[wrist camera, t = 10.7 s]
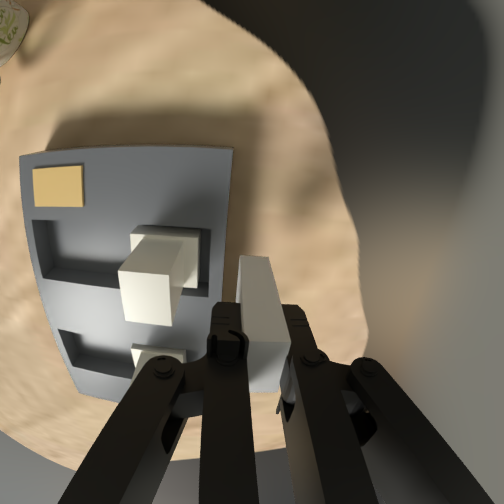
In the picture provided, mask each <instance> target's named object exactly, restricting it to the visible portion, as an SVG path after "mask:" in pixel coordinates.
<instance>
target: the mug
mask: <svg viewBox="0 0 504 504" xmlns="http://www.w3.org/2000/svg"><path fill="white" fill-rule="evenodd" d="M28 22H29V15H28V12H27V11H26V10H25V9H24V8H23V7H21V6H20V5H18V4H17V3H16V2H14V1H13V0H0V67H1V66H2V65H4V64H5V63H6V62H7V61H8V60H9V59H10V58H11V57H12V55H13V54H14V53H15V51H16V50H17V48H18V47H19V45H20V43H21V42H22V40H23V38H24V35H25V33H26V30H27V27H28ZM0 83H1V78H0Z"/></svg>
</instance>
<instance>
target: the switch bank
mask: <svg viewBox="0 0 504 504" xmlns="http://www.w3.org/2000/svg"><path fill="white" fill-rule="evenodd" d="M232 157H233V147H221V146H205V145H179V144H127V145H103V146H87V147H74V148H64V149H55V150H46V151H41V152H36V153H31V154H27V155H22V156H19V166H20V186H21V198H22V208H23V216H24V223H25V230H26V236H27V242H28V247H29V252H30V257H31V262H32V266H33V270H34V274H35V278H36V282H37V286H38V290H39V293H40V297H41V300H42V303H43V307H44V310H45V313H46V316H47V319H48V322H49V325H50V327H51V330H52V333H53V336H54V338H55V341H56V343H57V346H58V348H59V351H60V353H61V356H62V358H63V360H64V363H65V365H66V367H67V369H68V371H69V374H70V376H71V378H72V380H73V382H74V384H75V386H76V388H77V390H78V392H79V393H81V394H85V395H88V396H92V397H96V398H100V399H104V400H108V401H113V402H117V403H120V401H121V399H122V398H123V396H124V395H125V393H126V392H127V390H128V389H129V387H130V383H131V380H132V377H133V374H134V371H135V365H134V360H133V356H132V352H131V346H132V344H133V343H136V344H143V345H150V346H158V347H166V348H175V349H185V350H186V360H187V363H188V362H193V361H196V360H198V359H200V358H202V357H203V356H204V355H205V354H206V353H207V337H208V335H209V333H210V324H211V313H212V308H213V306H214V305H215V304H216V303H217V302H221V301H222V285H223V269H224V254H225V240H226V227H227V214H228V202H229V190H230V179H231V168H232ZM138 225H142V226H159V227H176V228H191V229H201V247H200V277H199V282H198V286H197V288H187V287H183V289H182V293H181V296H180V299H179V303H178V306H177V310H176V313H175V317H174V321H173V324H172V326H163V325H154V324H146V323H138V322H131V321H125V315H124V310H123V304H122V297H121V291H120V284H119V276H118V270H119V268H120V267H121V266H122V264H123V263H124V262H125V260H126V259H127V258H128V256H129V255H130V254H131V241H130V233H131V232H132V231H133V230H134V229H135V228H136V227H137V226H138Z"/></svg>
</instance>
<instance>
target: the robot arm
mask: <svg viewBox="0 0 504 504" xmlns="http://www.w3.org/2000/svg"><path fill="white" fill-rule="evenodd" d="M279 385H280V388H281V396H280V400H279V403H278V406H277V409H276V414H279V412H280V411H281V417H282V423H283V429H284V435H285V442H286V448H287V454H288V460H289V467H290V473H291V479H292V485H293V492H294V498H295V504H379V503H378V500H377V496H376V494H375V490H374V487H373V484H374V485H375V487H376V489H377V490H378V492H379V493H380V495H381V497H382V498H383V500H384V501H385V503H386V504H494V502H493V501H492V500H491V498H490V497H489V496H488V494H487V493H486V492H485V491H484V489H483V488H482V487H481V485H480V484H479V483H478V482H477V480H476V479H475V478H474V476H473V475H472V474H471V472H470V471H469V470H468V469H467V467H466V466H465V465H464V464H463V462H462V461H461V460H460V459H459V457H457V455H456V454H455V452H454V451H453V450H452V449H451V447H450V446H449V445H448V444H447V442H446V441H445V440H444V439H443V438H442V436H441V435H440V434H439V433H438V431H437V430H436V429H435V428H434V427H433V425H432V424H431V423H430V422H429V420H428V419H427V418H426V417H425V416H424V415H423V414H422V412H421V411H420V410H419V408H418V407H417V406H416V405H415V404H414V403H413V401H412V400H411V399H410V398H409V397H408V395H407V394H406V393H405V392H404V391H403V390H402V388H401V387H400V386H399V385H398V384H397V383H396V381H395V380H394V379H393V378H392V377H391V376H390V374H389V373H388V372H387V371H386V370H385V369H384V367H383V366H382V365H381V364H380V363H378V362H377V361H376V360H373V359H371V358H366V357H361V358H357V359H355V360H354V361H353V362H352V364H351V366H350V365H345V364H339V363H335V362H332V361H330V360H329V358H328V356H327V355H326V354H325V353H324V352H323V351H321V350H319V349H318V348H317V345H316V342H315V340H314V337H313V334H312V331H311V329H310V327H309V323H308V321H307V318H306V315H305V312H304V311H303V310H302V309H301V308H300V307H299V306H298V305H290V304H281V302H280V298H279V294H278V290H277V287H276V283H275V279H274V275H273V272H272V268H271V264H270V261H269V257H261V256H247V255H240V259H239V270H238V280H237V291H236V303H231V302H217V303H216V304H215V305H214V306H213V308H212V313H211V324H210V333H209V335H208V337H207V353H206V354H205V355H204V356H203V357H202V358H200V359H198V360H196V361H193V362H188V363H181V362H180V361H179V360H178V359H176V358H174V357H172V356H167V355H160V356H155V357H153V358H151V359H149V360H148V361H147V362H146V363H145V364H144V366H143V367H142V369H141V370H140V372H139V373H138V375H137V376H136V378H135V379H134V381H133V383H132V384H131V386H130V387H129V389H128V390H127V392H126V393H125V395H124V396H123V398H122V399H121V401H120V403H119V404H118V406H117V407H116V409H115V410H114V412H113V413H112V415H111V417H110V418H109V420H108V421H107V423H106V424H105V426H104V428H103V429H102V431H101V432H100V434H99V436H98V437H97V439H96V440H95V442H94V444H93V445H92V447H91V448H90V450H89V452H88V453H87V455H86V457H85V458H84V460H83V461H82V463H81V465H80V466H79V468H78V470H77V471H76V473H75V475H74V477H73V478H72V480H71V482H70V483H69V485H68V487H67V489H66V490H65V492H64V493H63V495H62V497H61V499H60V500H59V502H58V504H152V502H153V499H154V497H155V495H156V492H157V490H158V488H159V485H160V483H161V481H162V478H163V476H164V474H165V471H166V469H167V467H168V464H169V462H170V460H171V457H172V455H173V453H174V450H175V448H176V446H177V443H178V441H179V439H180V436H181V434H182V432H183V429H184V427H185V425H186V422H187V420H188V418H189V417H195V416H200V415H202V429H201V449H200V475H199V504H259V497H258V486H257V476H256V465H255V453H254V442H253V430H252V418H251V406H250V393H249V392H278V389H279ZM372 483H373V484H372Z"/></svg>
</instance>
